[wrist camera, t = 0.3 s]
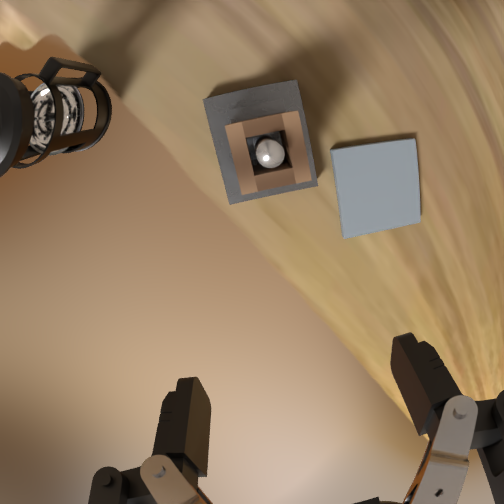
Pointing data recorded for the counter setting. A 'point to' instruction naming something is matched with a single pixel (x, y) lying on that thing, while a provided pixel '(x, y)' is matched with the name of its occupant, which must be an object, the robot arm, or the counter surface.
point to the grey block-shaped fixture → (260, 146)
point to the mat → (377, 186)
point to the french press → (49, 114)
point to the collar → (292, 143)
